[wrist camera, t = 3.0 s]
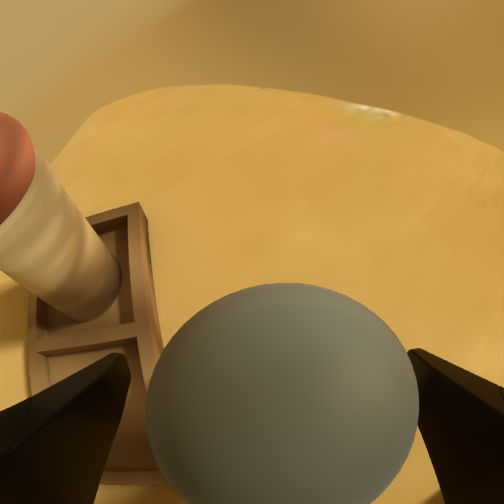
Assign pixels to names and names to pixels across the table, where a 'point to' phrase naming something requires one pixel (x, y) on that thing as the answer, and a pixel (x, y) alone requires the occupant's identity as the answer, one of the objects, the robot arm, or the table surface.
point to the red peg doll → (49, 234)
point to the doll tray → (109, 342)
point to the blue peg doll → (282, 400)
